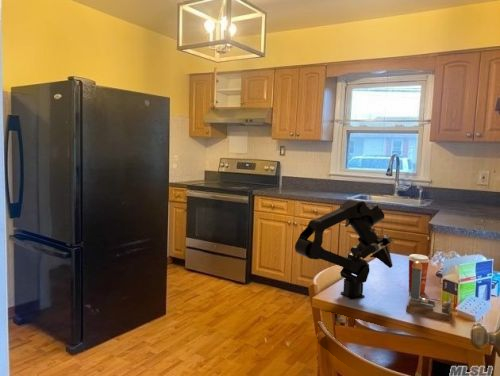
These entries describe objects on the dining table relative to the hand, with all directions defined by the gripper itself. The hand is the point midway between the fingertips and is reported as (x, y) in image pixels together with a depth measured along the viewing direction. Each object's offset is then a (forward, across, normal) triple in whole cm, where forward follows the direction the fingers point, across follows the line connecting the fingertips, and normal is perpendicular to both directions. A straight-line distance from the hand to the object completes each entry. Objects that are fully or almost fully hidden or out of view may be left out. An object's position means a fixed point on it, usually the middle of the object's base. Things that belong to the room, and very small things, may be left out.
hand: (391, 267), depth 136 cm
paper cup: (+13, -20, -6) cm, 24 cm away
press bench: (+18, -2, 0) cm, 19 cm away
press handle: (+15, -1, 0) cm, 15 cm away
